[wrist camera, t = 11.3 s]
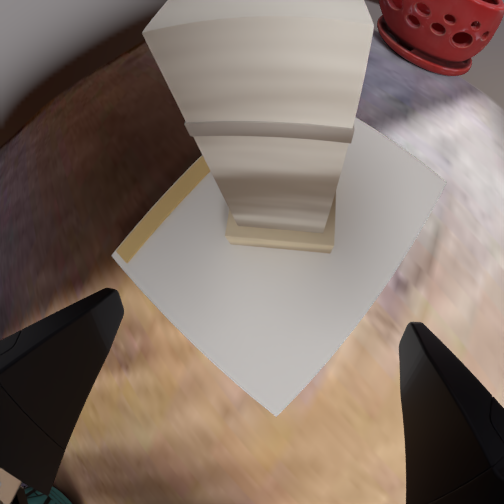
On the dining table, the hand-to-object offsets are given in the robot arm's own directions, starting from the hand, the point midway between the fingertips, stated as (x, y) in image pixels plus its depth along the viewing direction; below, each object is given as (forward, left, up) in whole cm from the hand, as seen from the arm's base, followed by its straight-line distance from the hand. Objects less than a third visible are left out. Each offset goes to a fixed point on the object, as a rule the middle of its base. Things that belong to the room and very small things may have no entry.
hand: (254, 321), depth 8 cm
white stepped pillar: (+6, +4, -7) cm, 10 cm away
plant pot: (+32, +4, -10) cm, 34 cm away
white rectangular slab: (+5, +3, -9) cm, 11 cm away
